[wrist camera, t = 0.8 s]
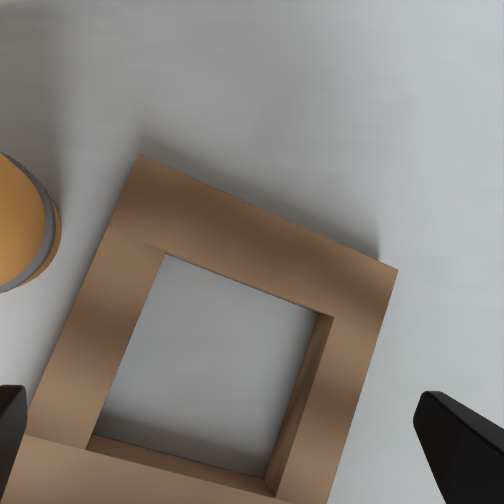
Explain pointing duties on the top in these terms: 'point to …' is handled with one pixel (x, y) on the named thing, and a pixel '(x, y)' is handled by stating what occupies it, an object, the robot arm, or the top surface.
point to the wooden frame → (124, 321)
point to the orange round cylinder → (25, 225)
